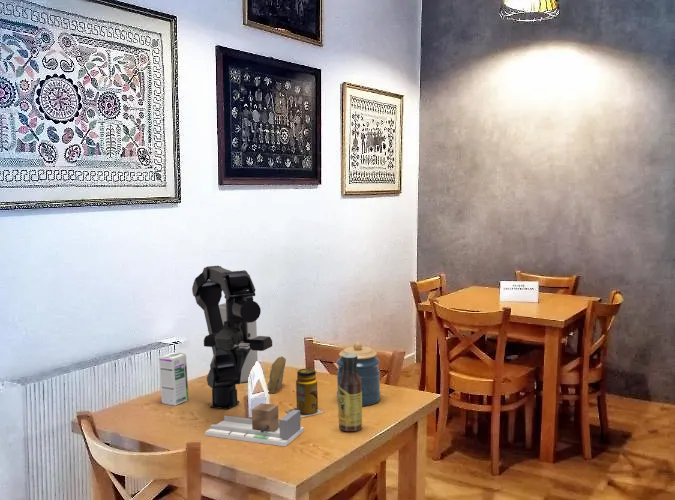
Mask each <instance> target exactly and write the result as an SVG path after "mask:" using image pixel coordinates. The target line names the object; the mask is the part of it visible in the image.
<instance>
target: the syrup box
mask: <svg viewBox="0 0 675 500" xmlns="http://www.w3.org/2000/svg"><path fill="white" fill-rule="evenodd" d="M158 359H159V360H158V361H159V363H158V364H159V375H160V376H159V377H160V379H159V380H160V390H161V391H160V392H161V393H160V394H161V404H165V405H169V406H174V407H176V406H177V405H180V404H182V403H185V402H188V401H189V386H188V385H189V383H188V365H187V363H188V362H187V354H186V353H183V352H171V353H167V354H165V355H161V356H159V357H158Z"/></svg>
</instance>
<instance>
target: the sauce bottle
mask: <svg viewBox="0 0 675 500" xmlns="http://www.w3.org/2000/svg"><path fill="white" fill-rule="evenodd" d="M357 360H358V357H357V355H356V354H352V353H348V354H344V355H342V361H343V371H342V374H341V377H340V380H339V383H338V388H337V391H338V397H337V400H338V403H337V405H338V406H337V407H338V411H337V412H338V427H339V429H340V430H342V431H343V432H357V431H360V430H361V429H362V426H363V406H362V389H361V378H360V376H359V375H358V373H357Z"/></svg>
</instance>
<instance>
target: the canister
mask: <svg viewBox="0 0 675 500" xmlns="http://www.w3.org/2000/svg"><path fill="white" fill-rule="evenodd" d="M348 353H352V354H356V355H357V357H358V360H357V373H358V375H359V376H360V378H361V389H362V407H365V406H371V405H374V404H377V403H378V402H379V401H380V397H381V387H380V384H381V381H380V380H381V379H380V378H381V377H380V374H381V370H380V369H379V364H380V363H381V361H380V359H379V358H378V357H376V356H377V355H378V352H377V351H376V350H374V349H373V348H371V347H368V346H363V344H362V342H360V341H356V342H354V343H353V346H348V347H345V348H344V349H343V350H341V351H340V352H339V353H338V356H339V358H338V359H337V360H336V361H335V362H336V364H337V366H338V367H337V371H336V376H337V377H336V378H337V382H336V383H337V387H336V389H338V383H339V380H340V377H341V374H342V371H343V361H342V355H344V354H348ZM336 394H337V395H336V397H337V398H338V390H337V391H336Z"/></svg>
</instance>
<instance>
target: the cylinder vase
mask: <svg viewBox="0 0 675 500" xmlns="http://www.w3.org/2000/svg"><path fill="white" fill-rule="evenodd" d="M219 309H220V313H221V317H222V322H223V324H224V321H226V302H224V303H221V304H220V303H219ZM223 326H224V325H223ZM257 329H258V327H257V320H256V321H254V322H249V323H248V333H250V337H249V338H248V339H253V338H255V337H257V336H258V334H257ZM241 342H242V341H241ZM256 361H258V351H255V350H252V349H251V350H250V352H249V353H248V355H247V357H246V360H245V363H244V365H243V368H242V370H241V380H240V384H241V383H248V377H249V374H250V371H251V369H252V367H253V366H254V365H255V362H256Z"/></svg>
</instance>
